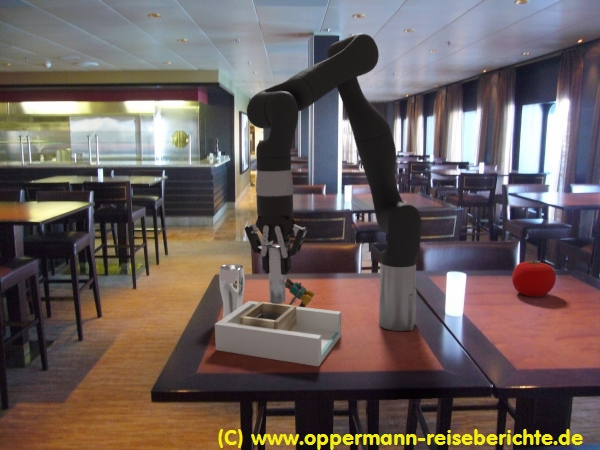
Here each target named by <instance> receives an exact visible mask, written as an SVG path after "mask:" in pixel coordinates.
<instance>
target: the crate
mask: <svg viewBox="0 0 600 450" xmlns="http://www.w3.org/2000/svg"><path fill="white" fill-rule="evenodd" d="M258 302H259V303H258V304H257V305H255V306H254V307H253V308H251V309H250V310H248V311H247V312H246V313H244V314H243V315H242V316H240V317H239V324H242V325H249V326H257V327H264V328H271V329H279V330H286V331H294V330H295V329H296V328H297V322H296V306H297V305H294V304H292V305H289V304H285V303H281V304H273V303H270V302H266V301H258Z"/></svg>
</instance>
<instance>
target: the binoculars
mask: <svg viewBox="0 0 600 450" xmlns="http://www.w3.org/2000/svg"><path fill="white" fill-rule="evenodd" d="M285 289H288V290H289V293H290V294H291V295H293V297H291V301H290V302H289V304H288V305H293V303H296V302H297V299H298V300H300V301H301V302H300V304H299V306H298V307H305V308H306V307H307V306H308V304H309V303H310V302H311V301H313V299H314V298H313V297H314V296H315V295H316V293H315V292H314V291H312V290H310V289H309V290H307V287H305V286H303V285H302V283H301V282H297V281H295V282H294V281H292V280H291V279H290V278H286V279H285Z"/></svg>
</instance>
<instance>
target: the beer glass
mask: <svg viewBox="0 0 600 450" xmlns="http://www.w3.org/2000/svg"><path fill="white" fill-rule="evenodd" d="M244 268H245V267H244V265H242V264H241V263H230V264H229V263H227V264H224V265H220V266H219V277H218V279H219V291H220V295H221V299H222V306H223V312H222V319H223V318H225V317H226V316H227V315H229V314H230V313H232V312H233V311H235V310H236V309H238V308H239V307H240V306H242V305H243V304H244V295H245V287H246V285H245V284H246V281H245V280H246V279H245V270H244Z"/></svg>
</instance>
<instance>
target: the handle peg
mask: <svg viewBox="0 0 600 450" xmlns="http://www.w3.org/2000/svg"><path fill="white" fill-rule="evenodd" d="M282 258H283V256H282V252H281V248H280V247H279V244H272V245H270V246H268V262H269V274H268V286H269V287H268V290H269V303H273V304H285V303H286V299H287V297H286V288H285V282H286V275H282Z"/></svg>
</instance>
